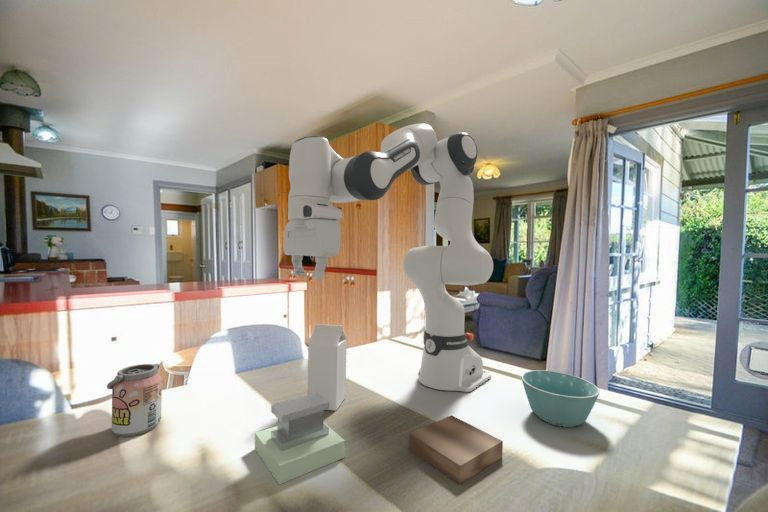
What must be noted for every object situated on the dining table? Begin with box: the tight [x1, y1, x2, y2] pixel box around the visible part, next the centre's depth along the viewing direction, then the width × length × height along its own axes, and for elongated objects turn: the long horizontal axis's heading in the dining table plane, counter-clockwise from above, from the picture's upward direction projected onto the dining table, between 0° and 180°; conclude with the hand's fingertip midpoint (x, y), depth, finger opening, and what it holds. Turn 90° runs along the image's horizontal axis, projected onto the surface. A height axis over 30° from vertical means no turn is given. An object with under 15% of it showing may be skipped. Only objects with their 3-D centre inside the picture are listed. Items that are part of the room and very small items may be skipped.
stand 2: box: [408, 414, 504, 485], centre depth 63 cm, size 12×12×3 cm
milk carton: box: [307, 323, 348, 411], centre depth 82 cm, size 7×7×19 cm
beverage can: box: [106, 363, 163, 438], centre depth 69 cm, size 9×8×12 cm
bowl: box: [521, 369, 600, 428], centre depth 77 cm, size 16×16×8 cm
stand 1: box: [254, 421, 346, 485], centre depth 62 cm, size 12×12×3 cm
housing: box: [270, 393, 330, 451], centre depth 62 cm, size 5×9×6 cm, turn 128°
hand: (308, 277), depth 73 cm, fingers open, 8 cm apart
